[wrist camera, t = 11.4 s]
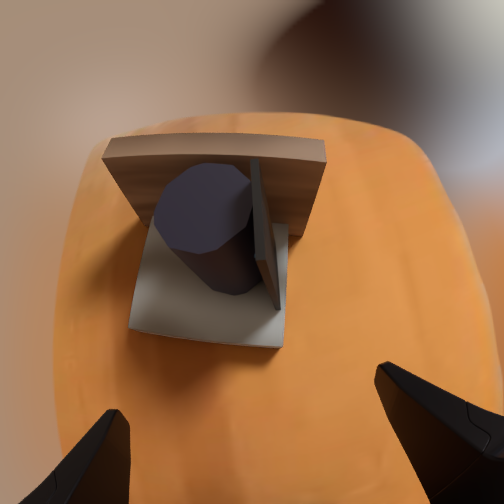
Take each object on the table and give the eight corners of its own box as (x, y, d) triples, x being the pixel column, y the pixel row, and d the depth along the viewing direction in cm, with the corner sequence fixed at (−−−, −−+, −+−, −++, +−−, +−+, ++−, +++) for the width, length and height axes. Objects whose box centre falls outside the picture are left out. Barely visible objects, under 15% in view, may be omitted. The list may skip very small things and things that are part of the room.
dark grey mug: (300, 243, 22) (307, 155, 13) (280, 312, 20) (275, 265, 11) (213, 222, 24) (171, 137, 14) (188, 284, 22) (122, 225, 12)
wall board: (299, 349, 21) (333, 335, 12) (122, 328, 22) (51, 298, 12) (302, 217, 26) (324, 140, 17) (149, 208, 26) (111, 138, 17)
